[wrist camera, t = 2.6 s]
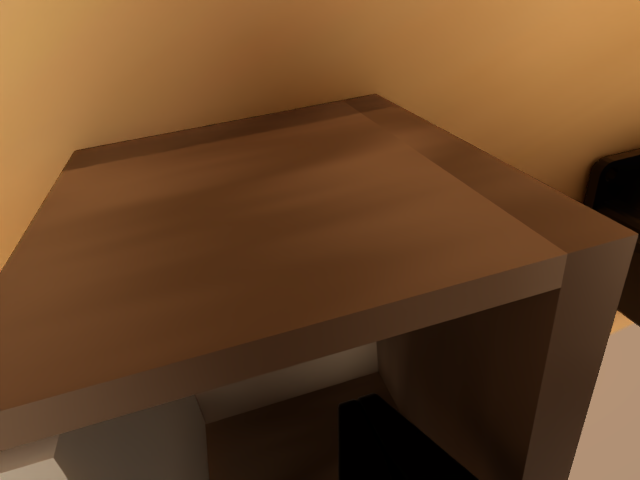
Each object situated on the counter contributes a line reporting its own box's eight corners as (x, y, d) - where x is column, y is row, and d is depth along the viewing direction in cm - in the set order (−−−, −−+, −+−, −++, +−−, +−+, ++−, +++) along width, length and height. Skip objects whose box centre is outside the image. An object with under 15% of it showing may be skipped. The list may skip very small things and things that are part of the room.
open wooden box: (376, 93, 13) (638, 234, 5) (388, 345, 18) (535, 592, 10) (74, 150, 11) (-103, 439, 4) (179, 407, 16) (184, 741, 9)
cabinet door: (120, 198, 10) (53, 457, 5) (205, 422, 14) (224, 707, 9) (65, 209, 10) (-76, 496, 4) (167, 434, 14) (161, 733, 9)
